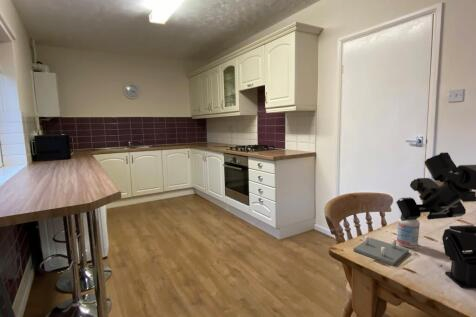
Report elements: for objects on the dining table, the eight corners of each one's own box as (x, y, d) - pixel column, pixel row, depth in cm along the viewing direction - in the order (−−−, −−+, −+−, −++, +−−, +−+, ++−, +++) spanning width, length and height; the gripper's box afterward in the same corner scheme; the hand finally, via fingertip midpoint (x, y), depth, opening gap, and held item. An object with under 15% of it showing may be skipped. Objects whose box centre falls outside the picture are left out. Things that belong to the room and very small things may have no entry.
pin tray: (408, 252, 86) (409, 242, 86) (393, 265, 79) (394, 254, 78) (370, 240, 95) (370, 230, 95) (353, 251, 88) (353, 240, 87)
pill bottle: (392, 242, 94) (394, 210, 92) (405, 239, 96) (407, 208, 94) (409, 249, 88) (411, 216, 86) (422, 246, 90) (424, 214, 89)
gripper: (461, 170, 81) (428, 195, 94) (402, 172, 80) (377, 198, 92) (484, 203, 75) (446, 226, 87) (421, 206, 73) (391, 229, 85)
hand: (414, 218), depth 88 cm, fingers open, 9 cm apart
